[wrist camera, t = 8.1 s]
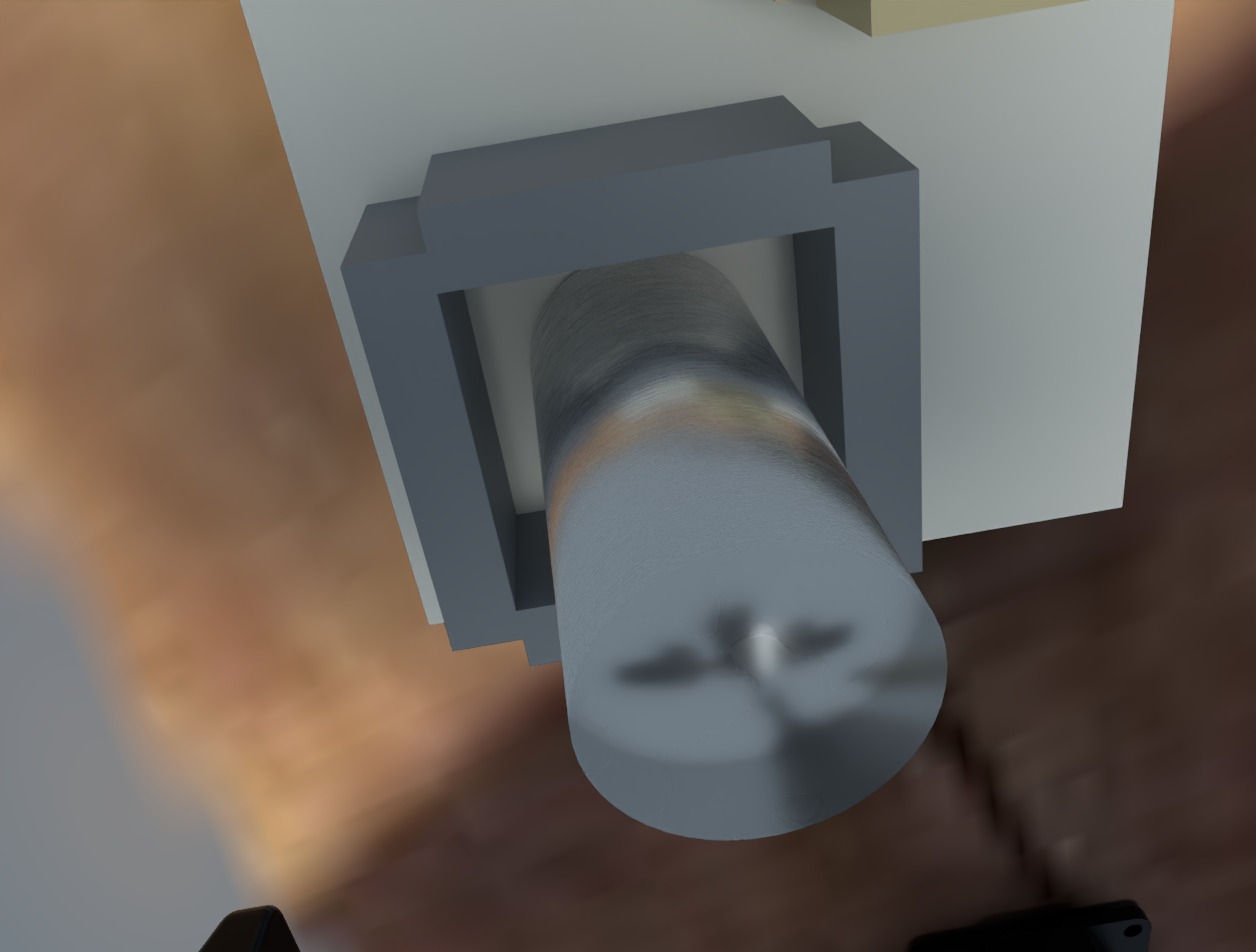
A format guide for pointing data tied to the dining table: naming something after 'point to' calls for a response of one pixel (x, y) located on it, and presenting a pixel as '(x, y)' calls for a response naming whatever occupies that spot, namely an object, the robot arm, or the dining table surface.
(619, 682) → the metal cylinder
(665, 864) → the dining table surface
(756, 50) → the fitting plate
